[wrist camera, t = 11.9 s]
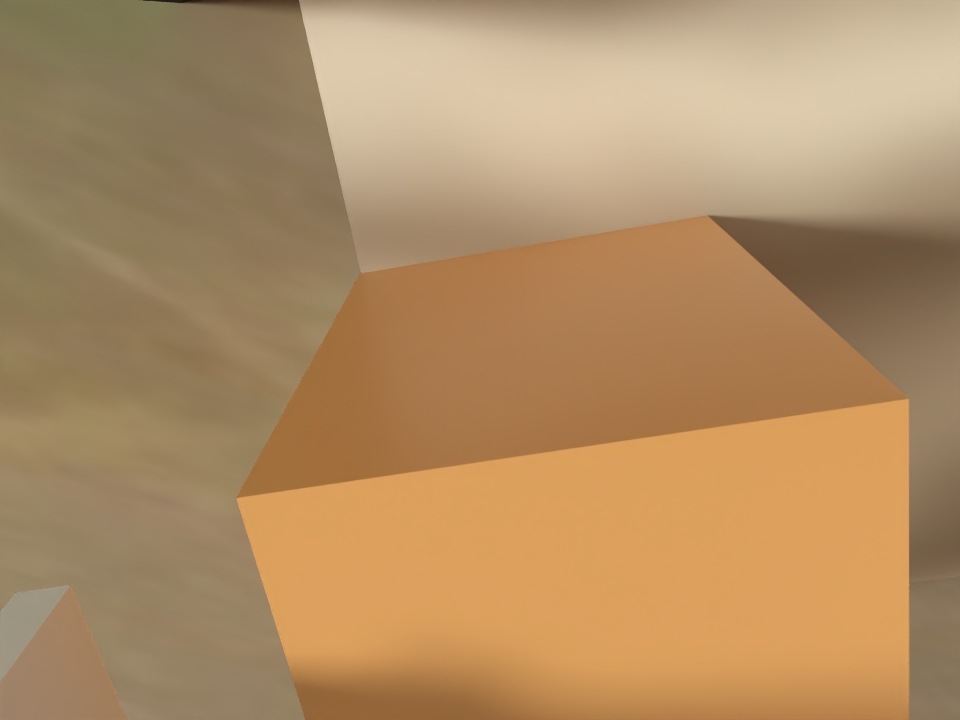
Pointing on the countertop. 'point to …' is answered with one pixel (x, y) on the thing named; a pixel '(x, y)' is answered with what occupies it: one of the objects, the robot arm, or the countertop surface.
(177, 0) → the puzzle cube
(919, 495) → the stub board
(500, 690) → the plain orange cube
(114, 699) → the robot arm
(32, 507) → the countertop surface
